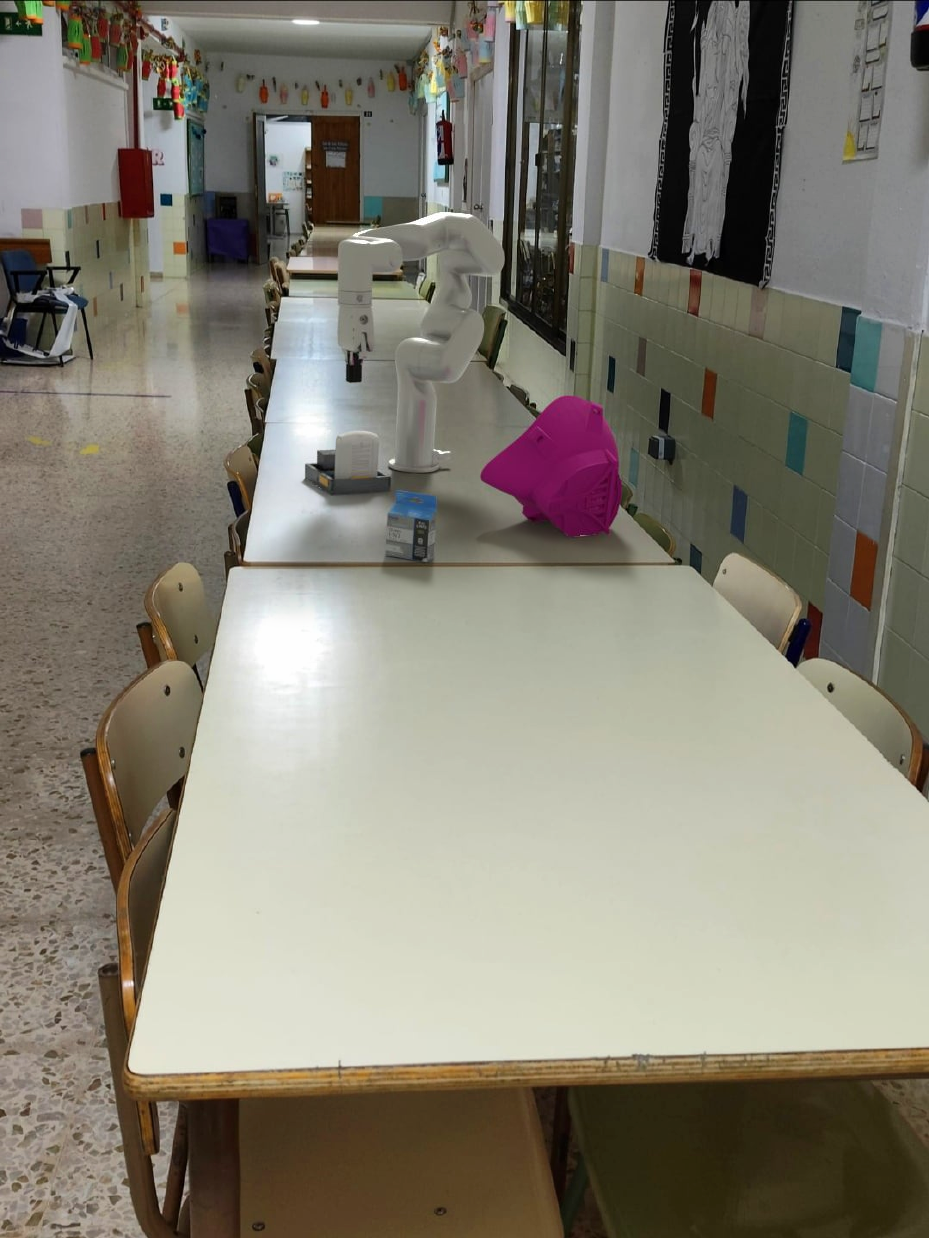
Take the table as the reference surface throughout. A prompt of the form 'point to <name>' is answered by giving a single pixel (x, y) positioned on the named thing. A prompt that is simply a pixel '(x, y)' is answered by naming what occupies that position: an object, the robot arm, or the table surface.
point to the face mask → (563, 468)
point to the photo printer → (356, 454)
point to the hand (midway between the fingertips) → (353, 381)
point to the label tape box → (411, 527)
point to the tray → (325, 475)
